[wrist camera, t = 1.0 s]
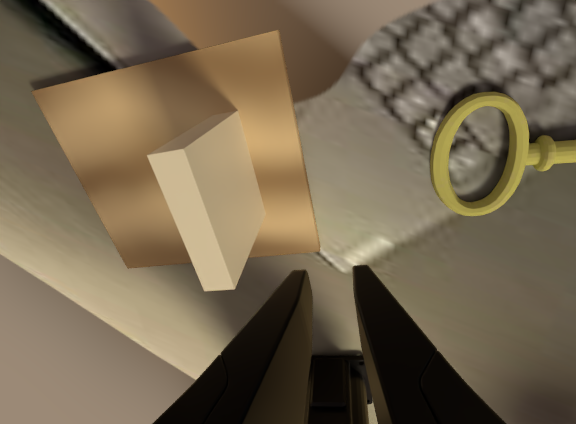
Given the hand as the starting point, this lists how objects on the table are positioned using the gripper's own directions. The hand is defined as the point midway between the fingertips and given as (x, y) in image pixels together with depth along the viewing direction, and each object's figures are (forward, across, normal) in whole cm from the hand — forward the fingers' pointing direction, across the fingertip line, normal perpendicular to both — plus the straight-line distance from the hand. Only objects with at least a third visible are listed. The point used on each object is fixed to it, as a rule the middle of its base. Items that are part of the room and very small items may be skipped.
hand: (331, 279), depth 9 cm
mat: (+12, +10, 0) cm, 16 cm away
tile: (+11, +6, 0) cm, 13 cm away
